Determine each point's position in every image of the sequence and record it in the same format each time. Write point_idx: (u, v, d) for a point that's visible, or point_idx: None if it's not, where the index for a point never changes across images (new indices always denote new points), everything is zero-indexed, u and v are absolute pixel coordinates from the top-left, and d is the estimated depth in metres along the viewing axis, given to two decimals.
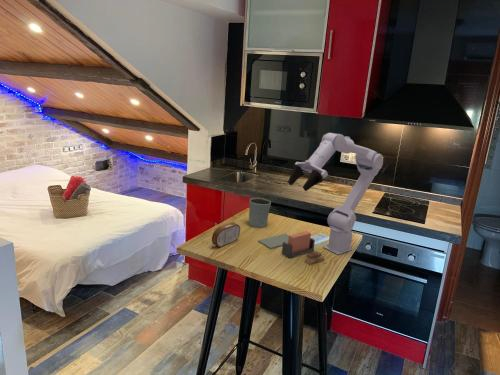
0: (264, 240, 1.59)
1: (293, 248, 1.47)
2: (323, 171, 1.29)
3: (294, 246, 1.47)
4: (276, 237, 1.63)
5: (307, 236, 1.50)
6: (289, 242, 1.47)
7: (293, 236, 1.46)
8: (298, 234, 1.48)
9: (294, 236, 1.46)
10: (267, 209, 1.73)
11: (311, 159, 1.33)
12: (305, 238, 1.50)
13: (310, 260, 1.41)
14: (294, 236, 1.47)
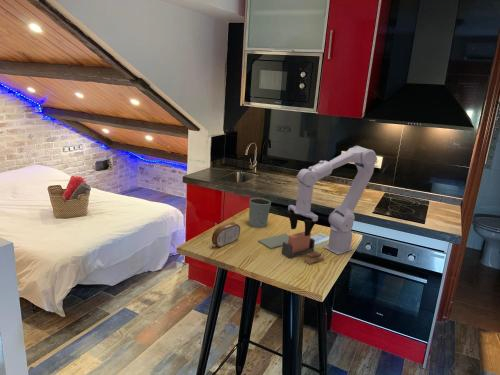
0: (264, 240, 1.59)
1: (293, 248, 1.47)
2: (313, 217, 1.41)
3: (294, 246, 1.47)
4: (276, 237, 1.63)
5: (307, 236, 1.50)
6: (289, 242, 1.47)
7: (293, 236, 1.46)
8: (298, 234, 1.48)
9: (294, 236, 1.46)
10: (267, 209, 1.73)
11: (298, 207, 1.44)
12: (305, 238, 1.50)
13: (310, 260, 1.41)
14: (294, 236, 1.47)
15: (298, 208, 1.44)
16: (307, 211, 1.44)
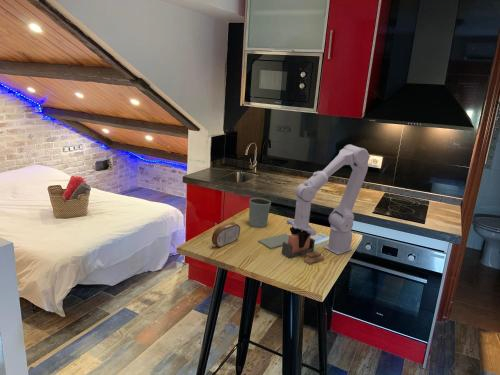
0: (264, 240, 1.59)
1: (293, 248, 1.47)
2: (311, 232, 1.42)
3: (294, 246, 1.47)
4: (276, 237, 1.63)
5: None
6: (289, 242, 1.47)
7: (293, 236, 1.46)
8: None
9: (294, 236, 1.46)
10: (267, 209, 1.73)
11: (296, 222, 1.46)
12: None
13: (310, 260, 1.41)
14: (294, 236, 1.47)
15: (296, 222, 1.46)
16: (305, 225, 1.45)
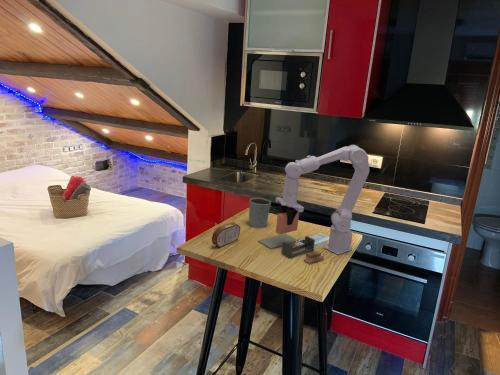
0: (264, 240, 1.59)
1: (282, 226, 1.51)
2: (298, 208, 1.46)
3: (283, 224, 1.51)
4: (276, 237, 1.63)
5: None
6: (278, 220, 1.51)
7: (282, 214, 1.50)
8: (286, 213, 1.53)
9: (283, 214, 1.51)
10: (267, 209, 1.73)
11: (284, 199, 1.49)
12: None
13: (310, 259, 1.42)
14: (282, 214, 1.51)
15: (285, 200, 1.49)
16: (293, 203, 1.49)
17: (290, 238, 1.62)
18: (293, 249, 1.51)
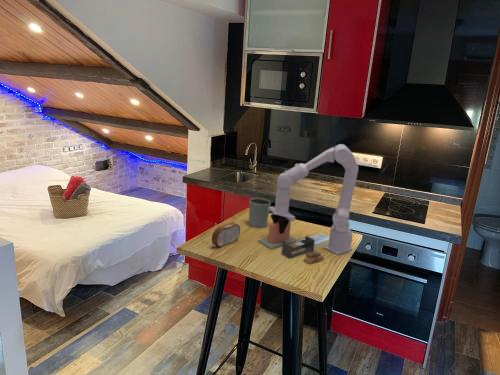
0: (264, 240, 1.59)
1: (273, 236, 1.55)
2: (290, 218, 1.51)
3: (275, 234, 1.56)
4: None
5: None
6: (270, 230, 1.56)
7: (273, 224, 1.55)
8: (278, 223, 1.57)
9: (274, 224, 1.55)
10: (267, 209, 1.73)
11: (276, 209, 1.54)
12: None
13: (309, 259, 1.42)
14: (274, 224, 1.55)
15: (276, 209, 1.54)
16: (285, 212, 1.54)
17: (290, 238, 1.62)
18: (293, 249, 1.51)
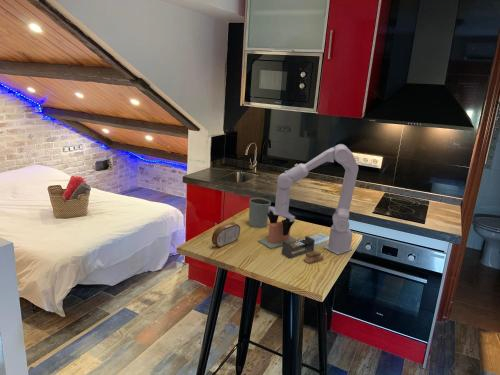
0: (264, 240, 1.59)
1: (273, 236, 1.55)
2: (290, 218, 1.51)
3: (275, 234, 1.56)
4: None
5: None
6: (270, 230, 1.56)
7: (273, 224, 1.55)
8: (278, 223, 1.57)
9: (274, 224, 1.55)
10: (267, 209, 1.73)
11: (276, 209, 1.54)
12: None
13: (309, 259, 1.42)
14: (274, 224, 1.55)
15: (276, 209, 1.54)
16: (285, 212, 1.54)
17: (290, 238, 1.62)
18: (293, 249, 1.51)
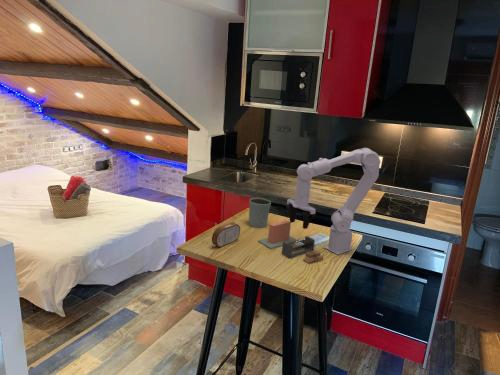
0: (264, 240, 1.59)
1: (273, 236, 1.55)
2: (310, 210, 1.47)
3: (275, 234, 1.56)
4: None
5: (287, 224, 1.59)
6: (270, 230, 1.56)
7: (273, 224, 1.55)
8: (278, 223, 1.57)
9: (274, 224, 1.55)
10: (267, 209, 1.73)
11: (296, 201, 1.50)
12: (285, 227, 1.59)
13: (309, 259, 1.42)
14: (274, 224, 1.55)
15: (296, 202, 1.50)
16: (305, 205, 1.50)
17: (290, 238, 1.62)
18: (293, 249, 1.51)
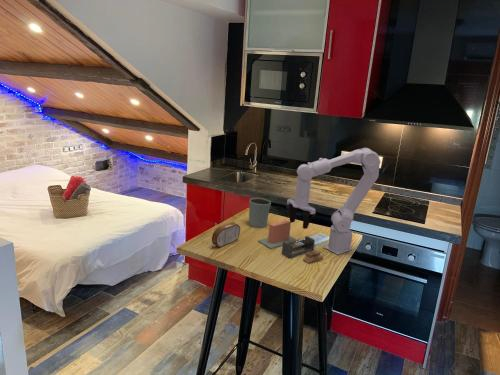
0: (264, 240, 1.59)
1: (273, 236, 1.55)
2: (310, 210, 1.47)
3: (275, 234, 1.56)
4: None
5: (287, 224, 1.59)
6: (270, 230, 1.56)
7: (273, 224, 1.55)
8: (278, 223, 1.57)
9: (274, 224, 1.55)
10: (267, 209, 1.73)
11: (296, 201, 1.50)
12: (285, 227, 1.59)
13: (309, 259, 1.42)
14: (274, 224, 1.55)
15: (296, 202, 1.50)
16: (305, 205, 1.50)
17: (290, 238, 1.62)
18: (293, 249, 1.51)
